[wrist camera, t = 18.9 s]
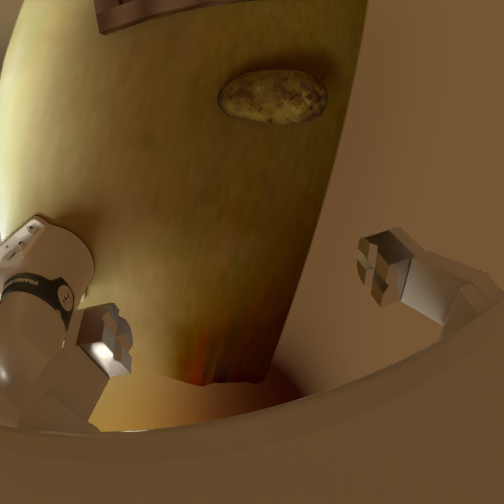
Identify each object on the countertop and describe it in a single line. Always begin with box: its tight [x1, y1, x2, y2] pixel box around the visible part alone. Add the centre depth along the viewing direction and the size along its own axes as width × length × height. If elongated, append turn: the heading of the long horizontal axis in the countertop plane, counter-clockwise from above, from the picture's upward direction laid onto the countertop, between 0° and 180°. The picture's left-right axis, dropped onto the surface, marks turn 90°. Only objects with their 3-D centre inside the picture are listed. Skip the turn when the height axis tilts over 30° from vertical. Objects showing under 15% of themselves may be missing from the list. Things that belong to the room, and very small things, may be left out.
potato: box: [217, 69, 328, 124], centre depth 32 cm, size 8×13×8 cm, turn 74°
